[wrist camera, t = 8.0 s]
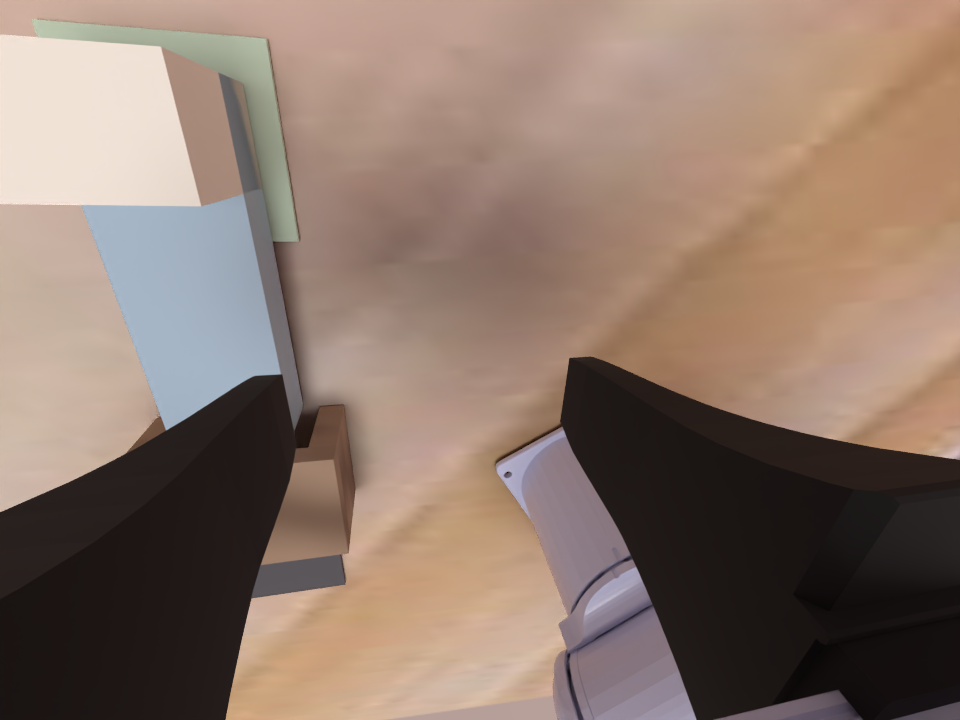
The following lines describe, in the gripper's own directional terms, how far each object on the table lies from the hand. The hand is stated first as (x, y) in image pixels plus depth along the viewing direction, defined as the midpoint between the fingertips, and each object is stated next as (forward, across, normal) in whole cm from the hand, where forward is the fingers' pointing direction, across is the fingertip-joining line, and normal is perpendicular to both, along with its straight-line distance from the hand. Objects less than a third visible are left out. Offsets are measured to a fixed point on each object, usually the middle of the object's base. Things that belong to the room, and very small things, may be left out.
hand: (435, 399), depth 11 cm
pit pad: (+10, +8, +17) cm, 22 cm away
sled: (+10, +8, -1) cm, 13 cm away
